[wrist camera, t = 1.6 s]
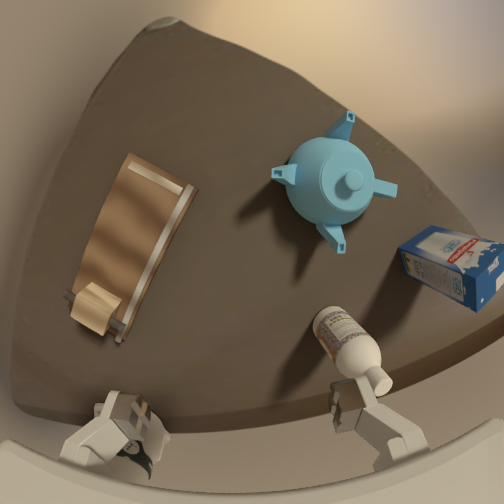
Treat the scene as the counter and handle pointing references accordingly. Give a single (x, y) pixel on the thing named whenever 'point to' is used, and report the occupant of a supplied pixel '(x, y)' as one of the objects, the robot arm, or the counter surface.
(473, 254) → the milk carton
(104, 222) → the walnut board
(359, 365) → the bath foam
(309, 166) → the teapot
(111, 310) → the wooden block with pegs
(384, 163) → the counter surface
